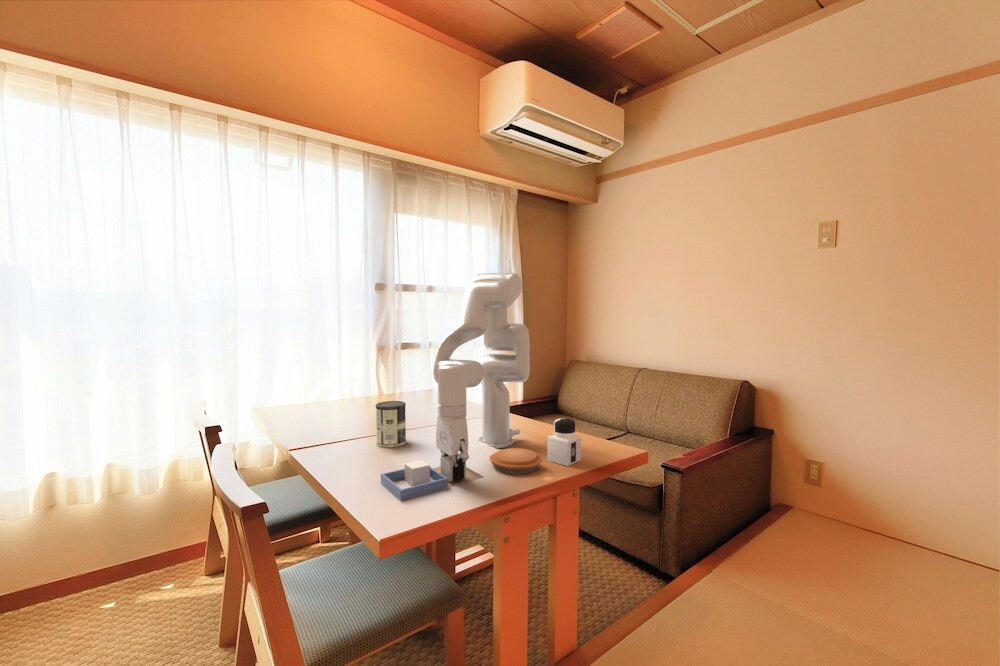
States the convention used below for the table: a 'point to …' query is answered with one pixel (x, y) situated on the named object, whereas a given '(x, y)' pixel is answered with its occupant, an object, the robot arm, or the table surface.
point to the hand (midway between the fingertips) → (453, 475)
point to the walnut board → (469, 477)
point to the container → (564, 443)
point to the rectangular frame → (413, 491)
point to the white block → (417, 472)
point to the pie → (515, 460)
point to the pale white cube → (449, 467)
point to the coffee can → (390, 423)
